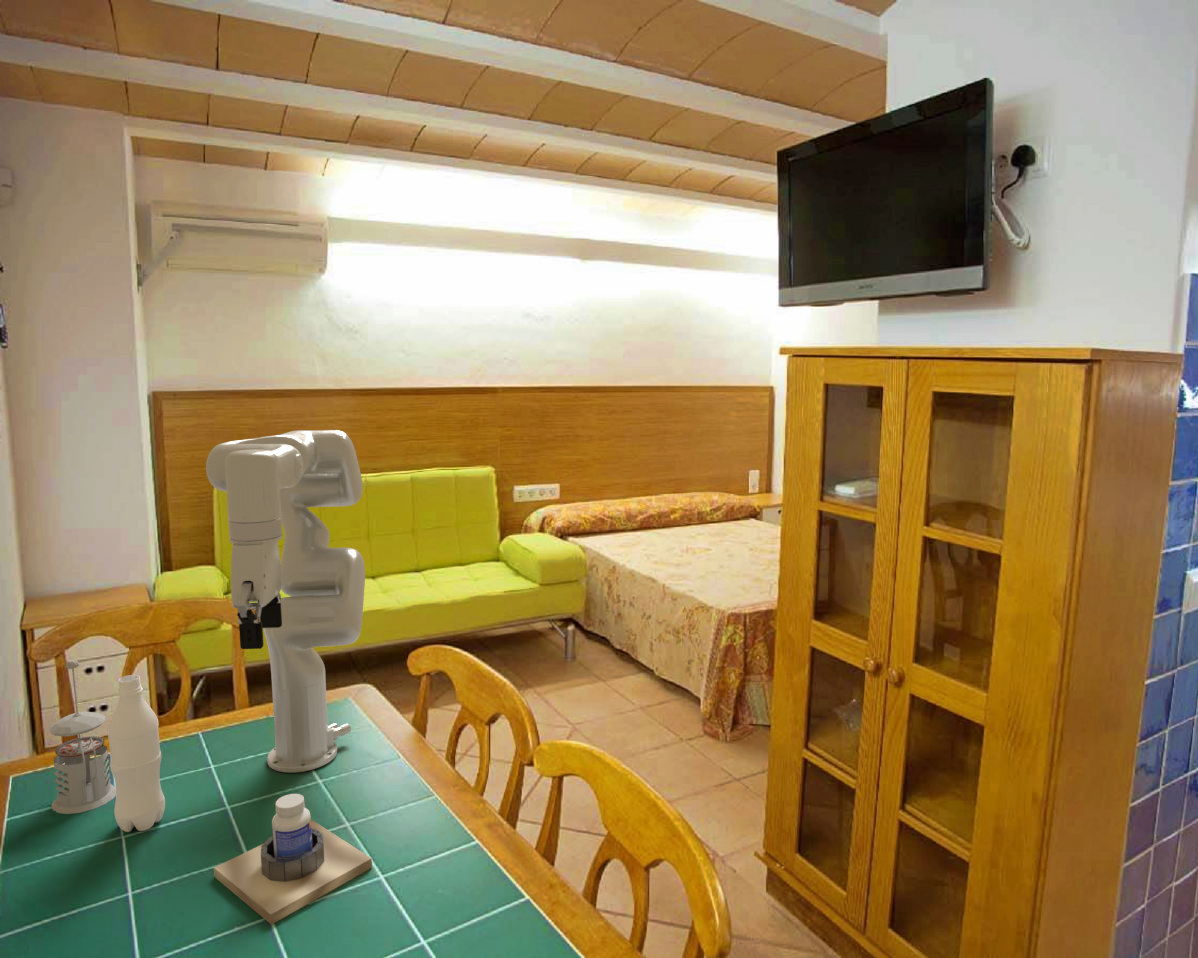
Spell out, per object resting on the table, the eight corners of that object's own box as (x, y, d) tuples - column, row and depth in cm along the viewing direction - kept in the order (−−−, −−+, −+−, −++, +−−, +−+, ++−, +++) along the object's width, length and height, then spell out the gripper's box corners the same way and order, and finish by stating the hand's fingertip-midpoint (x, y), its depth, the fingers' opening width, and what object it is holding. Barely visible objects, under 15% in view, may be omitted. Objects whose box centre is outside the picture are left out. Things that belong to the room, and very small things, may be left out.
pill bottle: (319, 860, 120) (316, 799, 118) (284, 877, 116) (281, 814, 114) (302, 845, 123) (299, 786, 122) (267, 861, 119) (264, 800, 118)
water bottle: (144, 838, 127) (131, 688, 124) (105, 833, 129) (91, 685, 125) (176, 814, 134) (165, 671, 131) (139, 809, 136) (127, 668, 132)
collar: (304, 838, 125) (303, 820, 125) (335, 860, 120) (334, 841, 119) (250, 865, 118) (249, 846, 118) (281, 889, 113) (280, 869, 113)
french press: (109, 777, 146) (97, 645, 143) (127, 802, 138) (115, 663, 134) (45, 797, 139) (31, 660, 136) (60, 825, 131) (45, 679, 128)
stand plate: (312, 828, 130) (312, 820, 130) (371, 867, 120) (371, 858, 120) (214, 876, 118) (213, 867, 118) (271, 924, 108) (270, 914, 108)
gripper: (248, 519, 131) (254, 620, 134) (209, 543, 114) (217, 658, 117) (296, 519, 132) (301, 619, 135) (263, 542, 115) (270, 656, 118)
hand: (262, 637), depth 126 cm, fingers open, 9 cm apart
